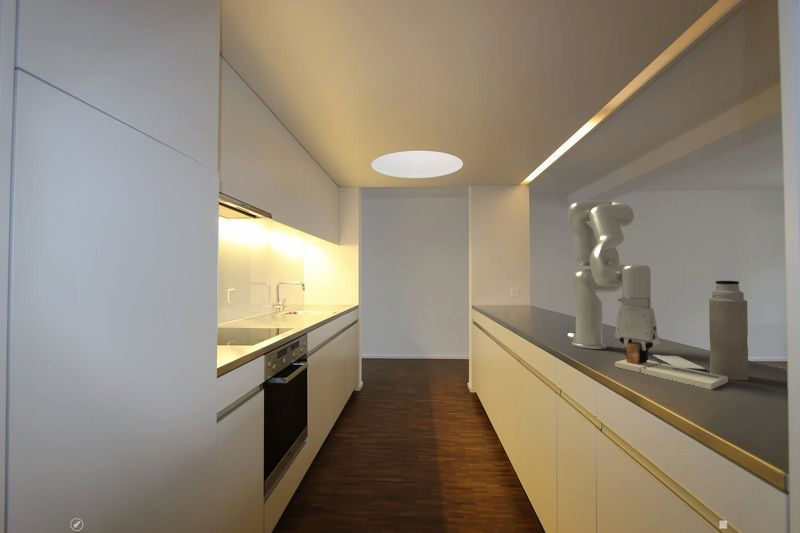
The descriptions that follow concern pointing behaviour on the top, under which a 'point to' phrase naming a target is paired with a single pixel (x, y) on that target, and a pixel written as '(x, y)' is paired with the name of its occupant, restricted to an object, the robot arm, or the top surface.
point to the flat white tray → (685, 375)
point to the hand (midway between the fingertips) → (636, 360)
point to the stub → (633, 358)
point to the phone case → (678, 362)
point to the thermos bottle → (728, 331)
